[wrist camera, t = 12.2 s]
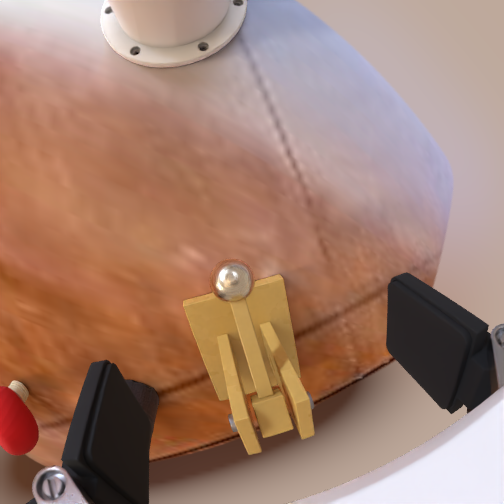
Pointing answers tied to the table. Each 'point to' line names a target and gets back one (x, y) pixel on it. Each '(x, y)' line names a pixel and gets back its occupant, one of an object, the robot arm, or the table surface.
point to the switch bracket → (234, 360)
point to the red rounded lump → (16, 420)
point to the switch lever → (250, 344)
